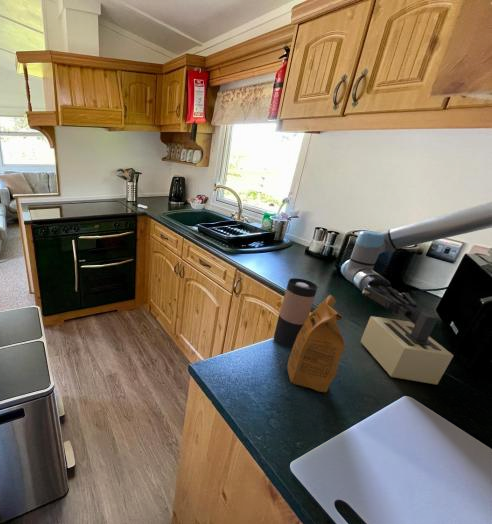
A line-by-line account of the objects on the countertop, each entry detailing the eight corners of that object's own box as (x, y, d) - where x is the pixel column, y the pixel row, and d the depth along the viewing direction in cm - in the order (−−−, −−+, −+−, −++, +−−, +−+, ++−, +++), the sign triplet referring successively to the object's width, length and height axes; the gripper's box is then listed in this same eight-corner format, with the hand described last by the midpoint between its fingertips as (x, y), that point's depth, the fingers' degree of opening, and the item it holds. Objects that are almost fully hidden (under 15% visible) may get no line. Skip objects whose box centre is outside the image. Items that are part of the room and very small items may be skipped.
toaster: (359, 342, 92) (370, 315, 88) (397, 348, 90) (410, 321, 87) (390, 378, 77) (405, 347, 74) (436, 386, 76) (454, 355, 72)
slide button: (404, 334, 79) (416, 310, 76) (419, 336, 78) (431, 312, 76) (415, 343, 75) (427, 318, 72) (430, 345, 75) (443, 320, 72)
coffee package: (326, 369, 79) (353, 298, 71) (329, 400, 69) (361, 321, 61) (287, 355, 83) (308, 287, 75) (284, 383, 73) (308, 307, 65)
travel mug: (268, 333, 93) (283, 277, 86) (292, 335, 93) (309, 279, 86) (278, 348, 86) (295, 288, 79) (304, 350, 86) (323, 290, 79)
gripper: (389, 296, 98) (442, 336, 77) (347, 291, 100) (388, 328, 79) (397, 276, 96) (455, 312, 74) (355, 271, 98) (399, 304, 76)
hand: (421, 320), depth 76 cm, fingers closed
